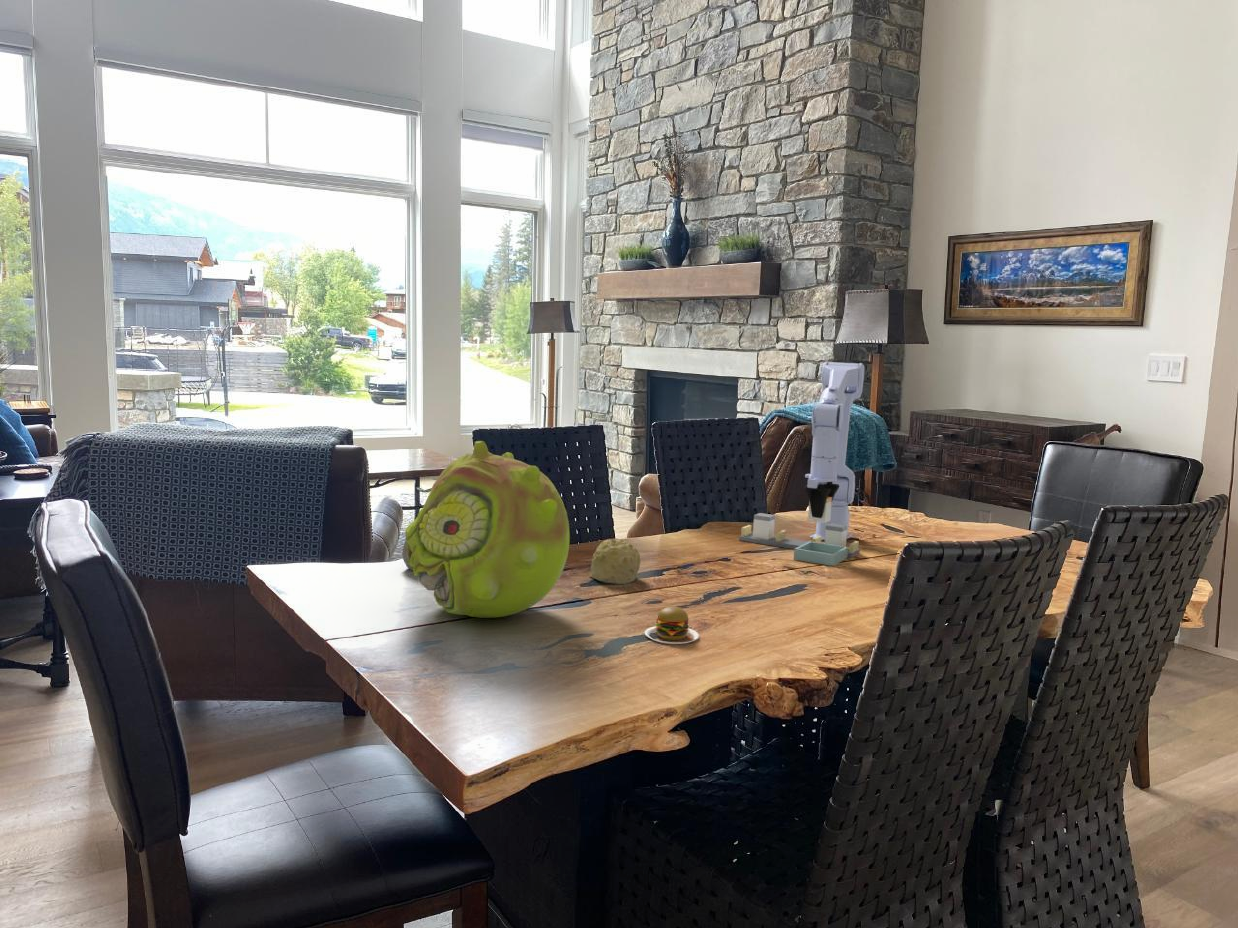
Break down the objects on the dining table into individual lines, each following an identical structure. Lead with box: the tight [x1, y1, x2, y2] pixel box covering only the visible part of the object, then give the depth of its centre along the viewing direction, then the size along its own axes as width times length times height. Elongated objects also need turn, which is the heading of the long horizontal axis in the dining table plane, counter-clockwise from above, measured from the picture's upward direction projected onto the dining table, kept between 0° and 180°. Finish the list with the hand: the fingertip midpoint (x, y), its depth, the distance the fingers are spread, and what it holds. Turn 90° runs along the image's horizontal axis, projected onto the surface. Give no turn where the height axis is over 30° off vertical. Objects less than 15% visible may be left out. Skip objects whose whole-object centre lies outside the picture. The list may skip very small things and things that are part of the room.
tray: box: [793, 540, 849, 567], centre depth 216 cm, size 10×9×2 cm
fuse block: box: [738, 524, 861, 559], centre depth 227 cm, size 6×28×3 cm, turn 59°
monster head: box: [404, 440, 571, 619], centre depth 161 cm, size 31×28×30 cm
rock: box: [589, 538, 641, 585], centre depth 191 cm, size 10×11×10 cm
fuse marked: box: [807, 497, 832, 523], centre depth 216 cm, size 4×4×6 cm
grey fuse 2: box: [824, 523, 847, 547], centre depth 223 cm, size 4×4×6 cm
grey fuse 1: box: [752, 512, 776, 540], centre depth 232 cm, size 4×4×6 cm
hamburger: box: [644, 605, 700, 645], centre depth 155 cm, size 12×12×6 cm
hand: (820, 516), depth 216 cm, fingers closed on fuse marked, 4 cm apart
